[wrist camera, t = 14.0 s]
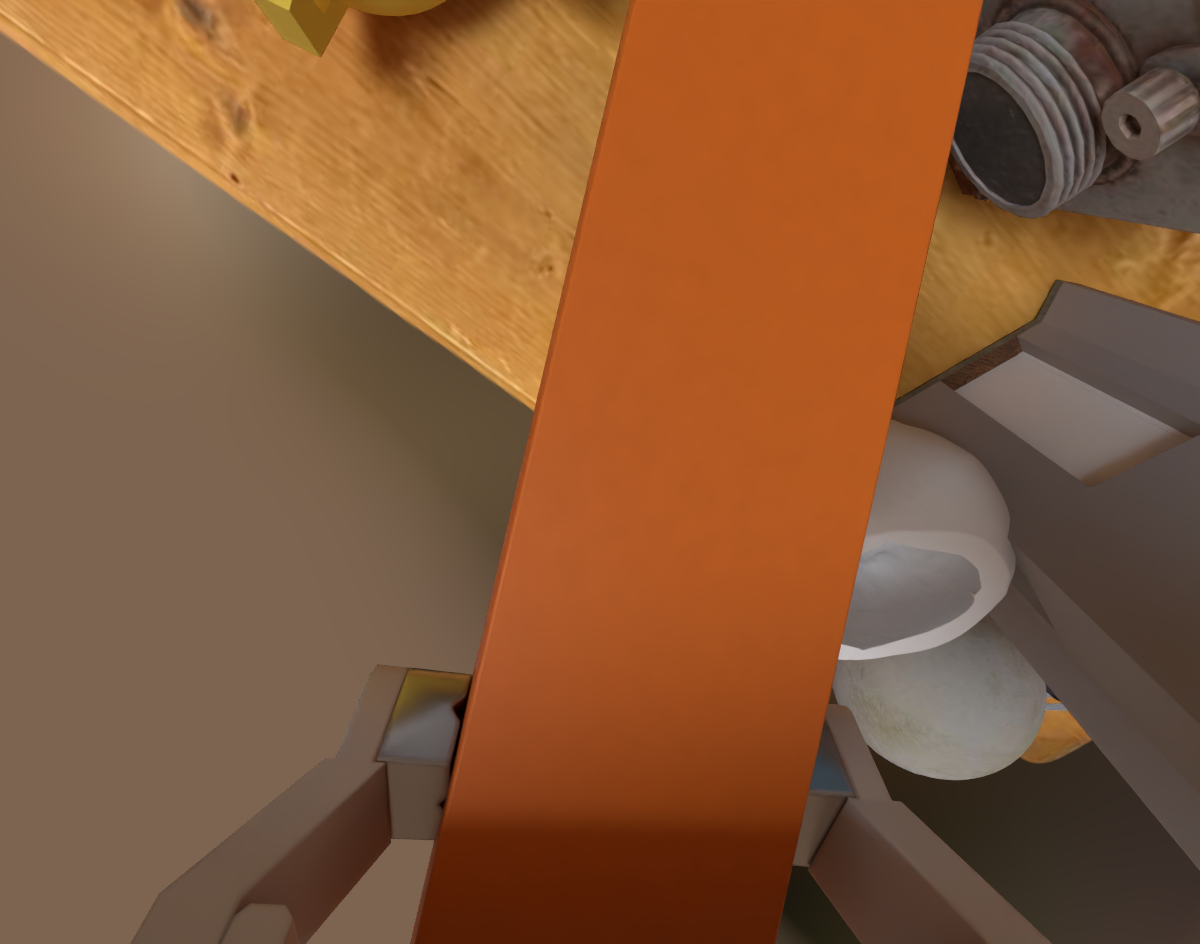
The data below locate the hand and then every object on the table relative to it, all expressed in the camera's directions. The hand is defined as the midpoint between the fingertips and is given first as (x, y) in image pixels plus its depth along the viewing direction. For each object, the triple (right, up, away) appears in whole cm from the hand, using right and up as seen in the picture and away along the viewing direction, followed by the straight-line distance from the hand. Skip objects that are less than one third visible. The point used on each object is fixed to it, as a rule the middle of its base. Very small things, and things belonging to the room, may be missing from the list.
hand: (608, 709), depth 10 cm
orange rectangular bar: (+1, +5, 0) cm, 5 cm away
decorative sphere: (+33, -14, +41) cm, 55 cm away
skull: (+11, +6, +38) cm, 40 cm away
